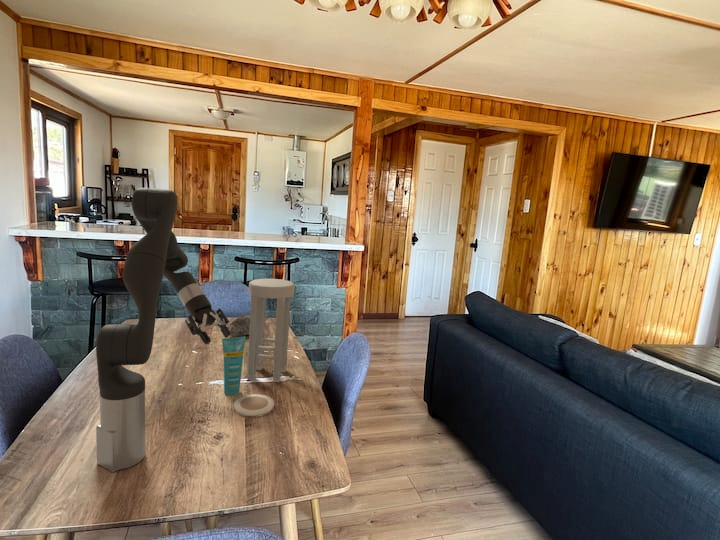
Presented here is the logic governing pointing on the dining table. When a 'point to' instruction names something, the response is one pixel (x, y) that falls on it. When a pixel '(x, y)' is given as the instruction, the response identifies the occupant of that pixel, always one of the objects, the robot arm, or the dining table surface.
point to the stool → (259, 293)
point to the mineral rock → (240, 326)
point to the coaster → (253, 405)
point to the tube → (233, 364)
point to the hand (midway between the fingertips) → (218, 339)
